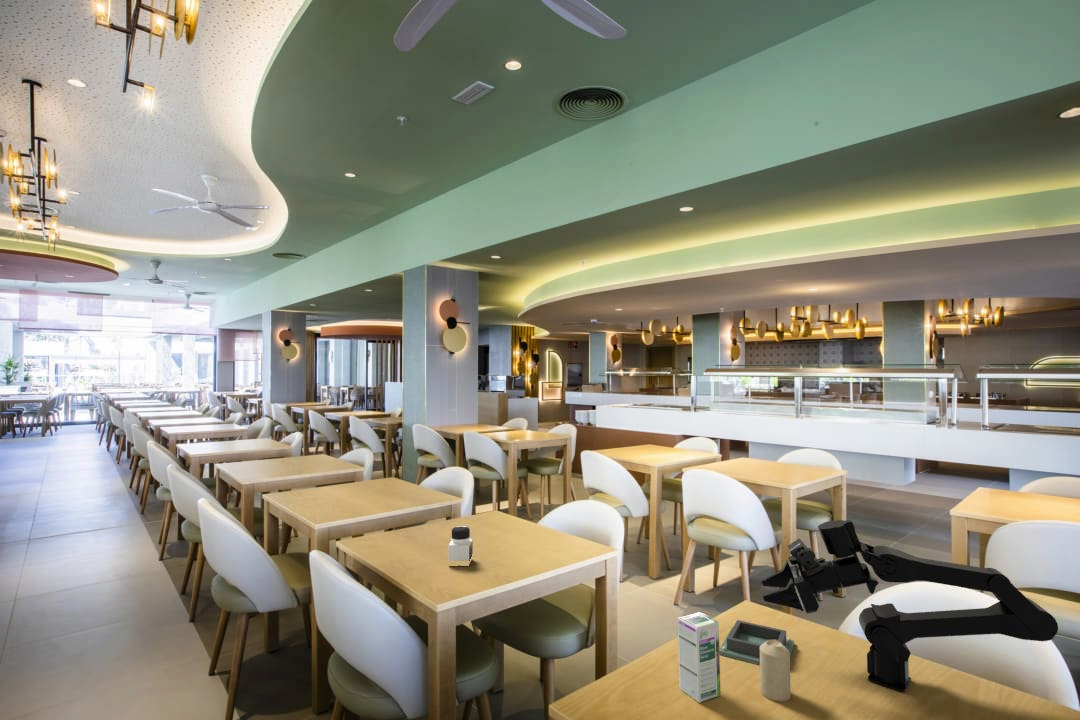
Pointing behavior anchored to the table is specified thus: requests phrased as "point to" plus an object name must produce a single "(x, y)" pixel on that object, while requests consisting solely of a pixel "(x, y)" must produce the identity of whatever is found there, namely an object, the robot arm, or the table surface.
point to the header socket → (751, 641)
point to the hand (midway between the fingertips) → (762, 590)
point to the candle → (775, 671)
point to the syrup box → (699, 656)
